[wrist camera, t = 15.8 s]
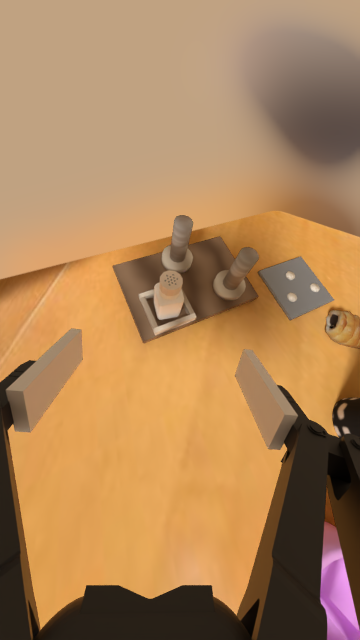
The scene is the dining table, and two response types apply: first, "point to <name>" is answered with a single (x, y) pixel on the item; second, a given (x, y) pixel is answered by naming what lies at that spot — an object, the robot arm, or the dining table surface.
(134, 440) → the dining table surface
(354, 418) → the spotted tube
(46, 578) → the dining table surface
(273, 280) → the tile
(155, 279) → the pin board
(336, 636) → the container set
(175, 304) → the pepper shaker
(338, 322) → the pastry
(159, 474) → the dining table surface
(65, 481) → the dining table surface
